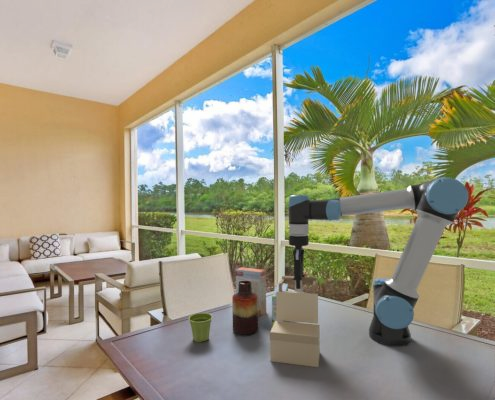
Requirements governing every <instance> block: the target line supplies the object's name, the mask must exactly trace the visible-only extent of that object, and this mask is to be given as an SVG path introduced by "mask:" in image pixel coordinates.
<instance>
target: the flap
mask: <svg viewBox="0 0 495 400" xmlns="http://www.w3.org/2000/svg"><path fill="white" fill-rule="evenodd" d="M293 278H294V275H291V276H290V275H282V276H281V278H280V279H281V280H280V281H279V291H276V320H284V321H286V322H294V323H305V324H316V325H319V294H318V292H317V293H316V286H317V277H310V276H305V277H302V284H303V286H304V285H306V286H311V292H306V291H305V292H304V291H303V292H295V291H289V290H288V291H282V285H283V284H288V285H292V284H293V285H295V280H293Z"/></svg>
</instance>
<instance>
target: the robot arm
mask: <svg viewBox="0 0 495 400" xmlns="http://www.w3.org/2000/svg"><path fill="white" fill-rule="evenodd" d="M288 197H289V198H288V207H287V208H288V226H287V229H288V233H289V235H288V245H289V246H294V249H293V250H292V255H293V276H294V278H293V280H295V284H294V292H304V285H303V284H302V277H306V275H305V274H304V256H305V255H304V254H305V249H304V248H303V247H306V246H309V233H310V232H309V230H310V229H309V227H310V226H309V225H310V224H309V221H310V220H311V221H313V220H315V221H317V220H318V221H339V220H340V219H341V217H344V216H353V215H362V214H371V213H381V212H388V211H397V210H398V211H399V210H407V209H410V210H411V211H416V213H417V219H416V221H415V223H414V225H413V228H412V230H411V233H410V234H409V237H408V239H407V241H406V244H405V247H404V249H403V250H402V253H401V255H400V257H399V259H398V261H397V264H396V266H395V268H394V271H393V273H392V275H391V277H390V278H389V277H379V278H374V279H373V283H372V289H373V290H372V291H373V294H372V295H373V296H372V297H373V298H372V299H373V302H372V303H373V304H372V305H373V307H372V308H373V316H372V320H371V322H370V324H369V325H370V326H369V328H368V335H369V338H371V340H373V341H375V342H377V343H379V344H382V345H387V346H394V347H402V346H403V347H404V346H407V345H409V344H410V343H412V334H411V331H410V329H409V326H410V325H411V323H412V322H413V320H414V316H415V311H414V309H415V306H416V304H417V302H418V299H419V298H420V296H419V293H418V291H417V290H418V287H419V285H420V284H421V281H422V280H423V279H422V278H423V277H424V274H425V272H426V270H427V268H428V265H429V264H430V262H431V259H432V257H433V255H434V253H435V251H436V248H437V246H438V244H439V241H440V240H441V238H442V236H443V233H444V231H445V229H446V227H447V226H449V225H451V224H454V222H455V220H456V219H457V216H458V214H459V212H461V211H462V210H463V209H464V208H465V207H466V205H467V203H468V201H469V192H468V189H467V187H466V185H464V183H463V182H461V181H460V180H458V179H455V178H452V177H447V176H445V177H444V176H443V177H438V178H434V179H431V180H427V181H424V182H422V183H418V184H417V183H416V184H413V185H408V186H407V188H403V189H394V190H388V191H380V192H373V193H372V192H371V193H365V194H359V195H358V194H357V195H352V196H344V197H338V198H337V197H335V198H327V199H326V198H325V199H319V200H318V199H317V200H315V199H314V200H312V199H310V198H309V196H308V195H307V194H300V195H299V194H291V195H290V196H288Z"/></svg>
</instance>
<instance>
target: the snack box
mask: <svg viewBox="0 0 495 400" xmlns="http://www.w3.org/2000/svg"><path fill="white" fill-rule="evenodd" d="M276 291H279V283H277V284H276V287H275V289H274V292H273V294H272V297H271V328H272V327H273V325H274V323H275V321H283V322H287V321H284V320H276ZM282 291H289V284H287V283H283V285H282Z"/></svg>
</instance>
